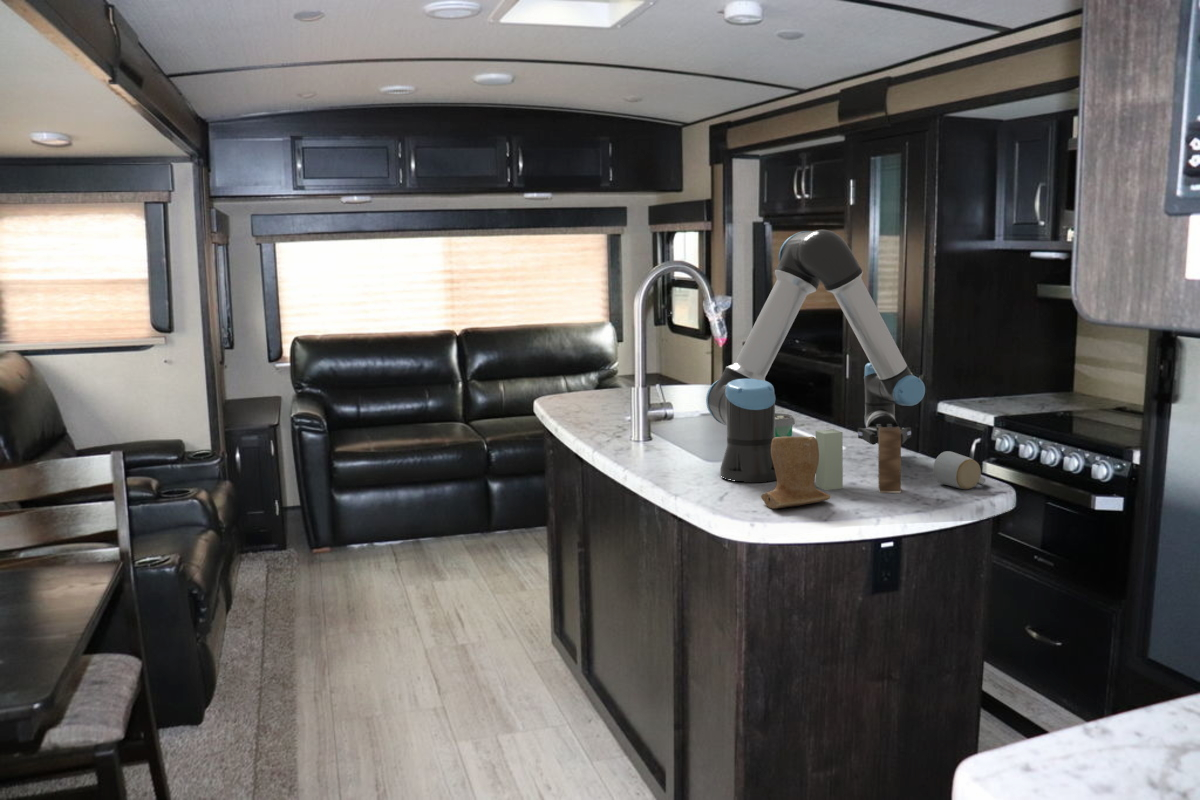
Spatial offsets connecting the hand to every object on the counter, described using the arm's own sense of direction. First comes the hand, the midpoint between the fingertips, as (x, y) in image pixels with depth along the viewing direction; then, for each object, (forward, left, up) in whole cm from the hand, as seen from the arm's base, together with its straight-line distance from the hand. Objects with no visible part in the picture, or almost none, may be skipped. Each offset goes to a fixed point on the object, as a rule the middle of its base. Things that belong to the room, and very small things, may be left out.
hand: (888, 444), depth 226 cm
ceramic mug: (+15, -6, -9) cm, 18 cm away
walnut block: (-2, -7, -9) cm, 12 cm away
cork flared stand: (-26, -15, -9) cm, 32 cm away
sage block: (-14, -1, -9) cm, 17 cm away
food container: (-14, +44, -9) cm, 47 cm away
